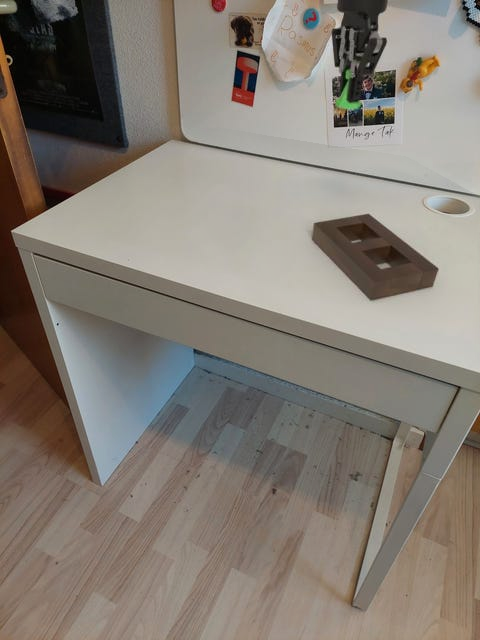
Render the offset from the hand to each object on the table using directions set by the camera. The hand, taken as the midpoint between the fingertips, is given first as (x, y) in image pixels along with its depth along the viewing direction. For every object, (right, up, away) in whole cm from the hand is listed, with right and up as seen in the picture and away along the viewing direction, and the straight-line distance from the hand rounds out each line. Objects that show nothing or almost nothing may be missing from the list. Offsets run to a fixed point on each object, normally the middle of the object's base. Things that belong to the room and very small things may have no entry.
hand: (348, 99), depth 78 cm
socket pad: (0, -29, -10) cm, 31 cm away
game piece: (0, -1, +1) cm, 1 cm away
